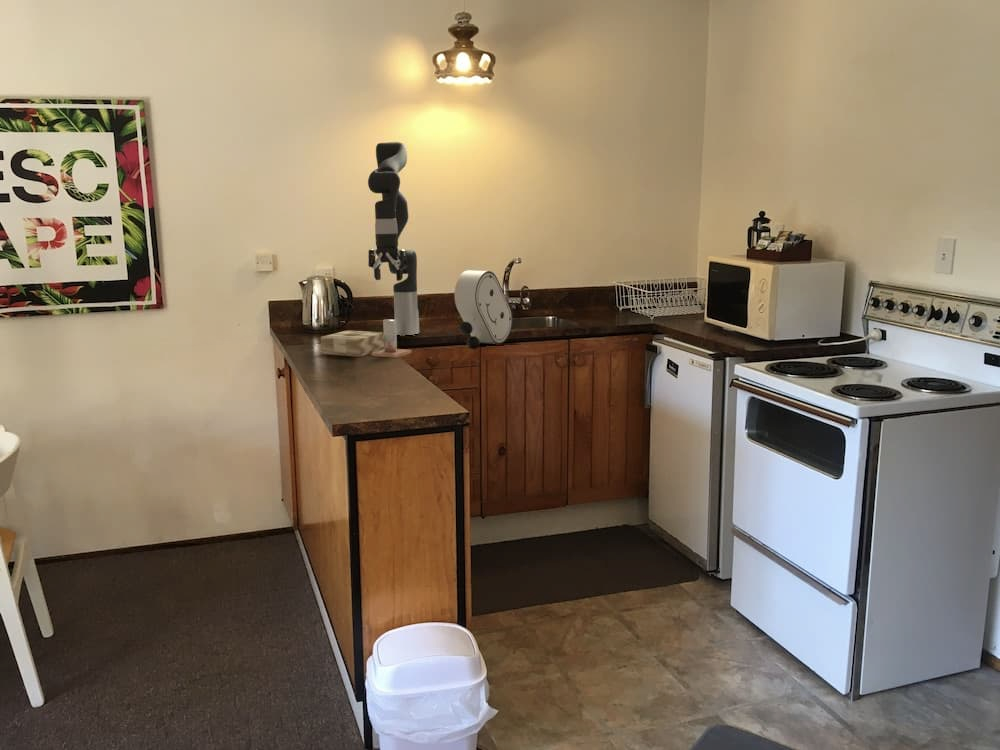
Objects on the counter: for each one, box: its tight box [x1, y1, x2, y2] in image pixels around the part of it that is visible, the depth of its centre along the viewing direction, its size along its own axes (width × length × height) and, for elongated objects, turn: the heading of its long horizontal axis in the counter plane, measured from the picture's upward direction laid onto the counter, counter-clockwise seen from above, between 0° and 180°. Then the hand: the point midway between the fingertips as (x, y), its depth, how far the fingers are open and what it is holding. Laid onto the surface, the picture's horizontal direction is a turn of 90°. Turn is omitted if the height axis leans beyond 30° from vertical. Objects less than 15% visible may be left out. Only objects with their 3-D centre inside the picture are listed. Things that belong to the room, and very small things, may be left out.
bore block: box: [320, 329, 384, 358], centre depth 308 cm, size 16×16×6 cm
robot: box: [454, 269, 513, 350], centre depth 312 cm, size 30×9×24 cm
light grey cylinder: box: [382, 318, 398, 353], centre depth 301 cm, size 4×4×11 cm
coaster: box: [370, 348, 412, 359], centre depth 302 cm, size 10×10×1 cm
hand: (388, 280), depth 296 cm, fingers open, 8 cm apart
